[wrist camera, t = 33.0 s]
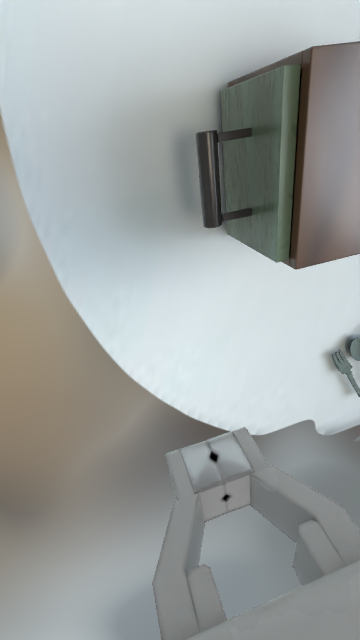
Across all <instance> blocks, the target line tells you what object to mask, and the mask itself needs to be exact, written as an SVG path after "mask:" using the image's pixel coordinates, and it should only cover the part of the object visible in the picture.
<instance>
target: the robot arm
mask: <svg viewBox="0 0 360 640" xmlns="http://www.w3.org/2000/svg"><path fill="white" fill-rule="evenodd" d="M166 459H167V463H168V467H169V471H170V475H171V479H172V483H173V487H174V491H175V495H176V498H177V501H175V502H174V504H173V508H172V511H171V515H170V519H169V523H168V526H167V530H166V534H165V538H164V541H163V545H162V549H161V552H160V556H159V560H158V564H157V567H156V571H155V575H154V579H153V582H152V585H153V591H154V597H155V603H156V610H157V615H158V621H159V628H160V634H161V640H360V530H359V529H358V527H357V526H356V525H355V523H354V522H353V520H352V519H351V518H350V516H349V515H348V514H347V512H346V511H345V510H344V508H343V507H342V506H341V505H339V504H338V503H336V502H334V501H333V500H331V499H329V498H328V497H326V496H324V495H322V494H321V493H319V492H318V491H316V490H314V489H313V488H311V487H309V486H308V485H306V484H304V483H302V482H301V481H299V480H297V479H296V478H294V477H293V476H291V475H289V474H287V473H286V472H284V471H282V470H281V469H279V468H277V467H276V466H274V465H272V466H269V465H268V463H267V461H266V460H265V458H264V457H263V455H262V453H261V451H260V450H259V448H258V446H257V445H256V443H255V441H254V440H253V438H252V437H251V435H250V433H249V432H248V430H247V429H246V428H245V427H243V428H241V429H238V430H235V431H232V432H228V433H225V434H222V435H220V436H217V437H214V438H211V439H208V440H206V441H204V442H201V443H198V444H195V445H192V446H188V447H185V448H182V449H180V450H176V451H173V452H170V453H167V454H166ZM248 505H251V506H252V507H253V508H254V509H255V510H257V511H258V512H259V513H260V514H262V516H264V517H265V518H266V519H268V520H269V521H270V522H271V523H272V524H273V525H275V526H276V527H277V528H278V529H279V530H281V531H282V532H283V533H284V534H286V535H287V536H288V537H289V538H290V539H292V540H293V541H294V542H295V543H296V547H295V554H294V560H293V566H292V567H293V569H294V571H295V573H296V575H297V577H298V579H299V581H300V583H301V585H302V586H301V587H298V588H296V589H294V590H292V591H290V592H287V593H285V594H283V595H281V596H279V597H276V598H274V599H272V600H270V601H268V602H265V603H263V604H261V605H259V606H257V607H254V608H252V609H250V610H248V611H246V612H243V613H241V614H239V615H237V616H235V617H232V618H230V619H228V620H227V618H226V616H225V612H224V609H223V607H222V603H221V600H220V597H219V594H218V590H217V587H216V584H215V581H214V578H213V575H212V572H211V569H210V567H208V566H206V565H204V564H203V565H201V566H199V562H200V555H201V547H202V541H203V535H204V528H205V522H207V521H209V520H212V519H214V518H216V517H219V516H221V515H224V514H226V513H228V512H231V511H234V510H237V509H240V508H242V507H245V506H248Z"/></svg>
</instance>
